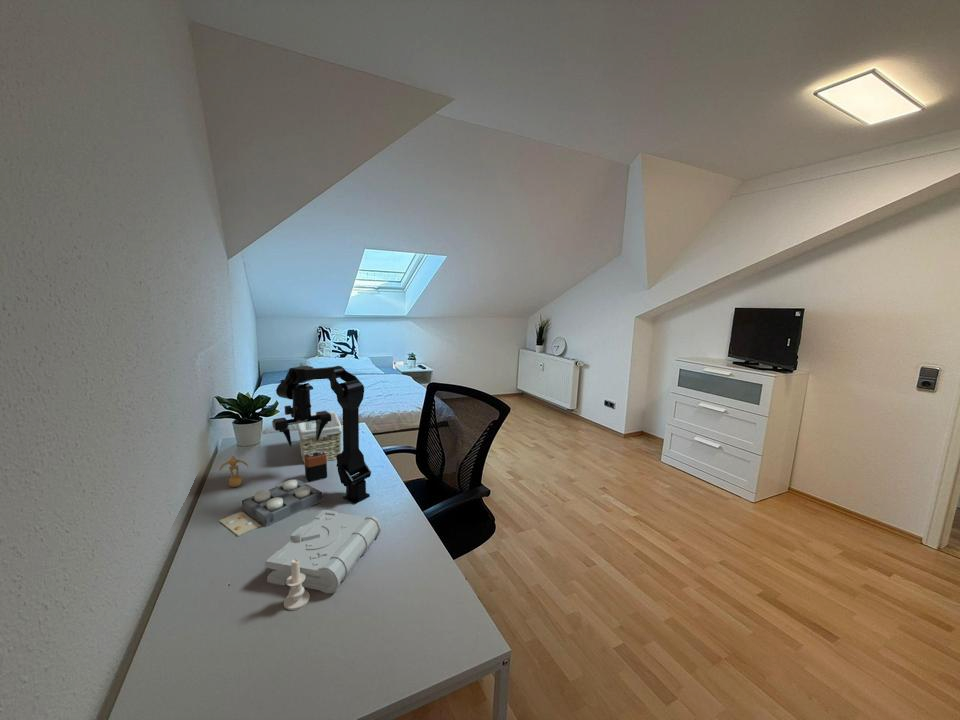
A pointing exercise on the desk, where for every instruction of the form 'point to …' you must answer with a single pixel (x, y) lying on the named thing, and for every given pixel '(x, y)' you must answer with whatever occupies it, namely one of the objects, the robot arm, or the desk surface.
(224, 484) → the desk surface
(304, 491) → the button
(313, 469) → the battery
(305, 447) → the storage basket
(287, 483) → the button
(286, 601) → the candle
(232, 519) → the pattern card
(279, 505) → the button
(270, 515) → the button board
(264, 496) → the button
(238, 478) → the figurine
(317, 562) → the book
